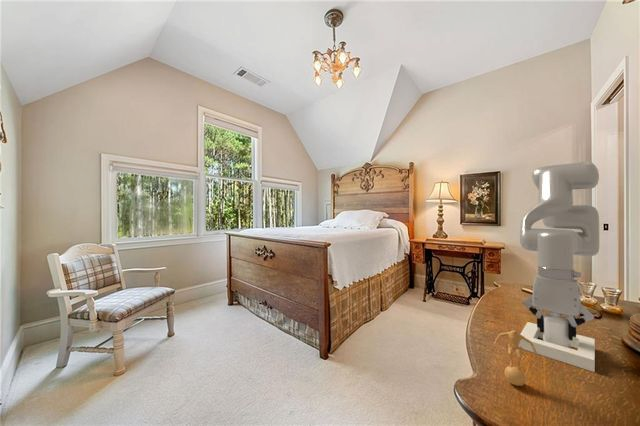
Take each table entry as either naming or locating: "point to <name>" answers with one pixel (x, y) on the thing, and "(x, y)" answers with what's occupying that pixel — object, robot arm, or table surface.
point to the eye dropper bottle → (556, 329)
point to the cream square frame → (561, 348)
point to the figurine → (512, 372)
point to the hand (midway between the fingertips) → (555, 333)
